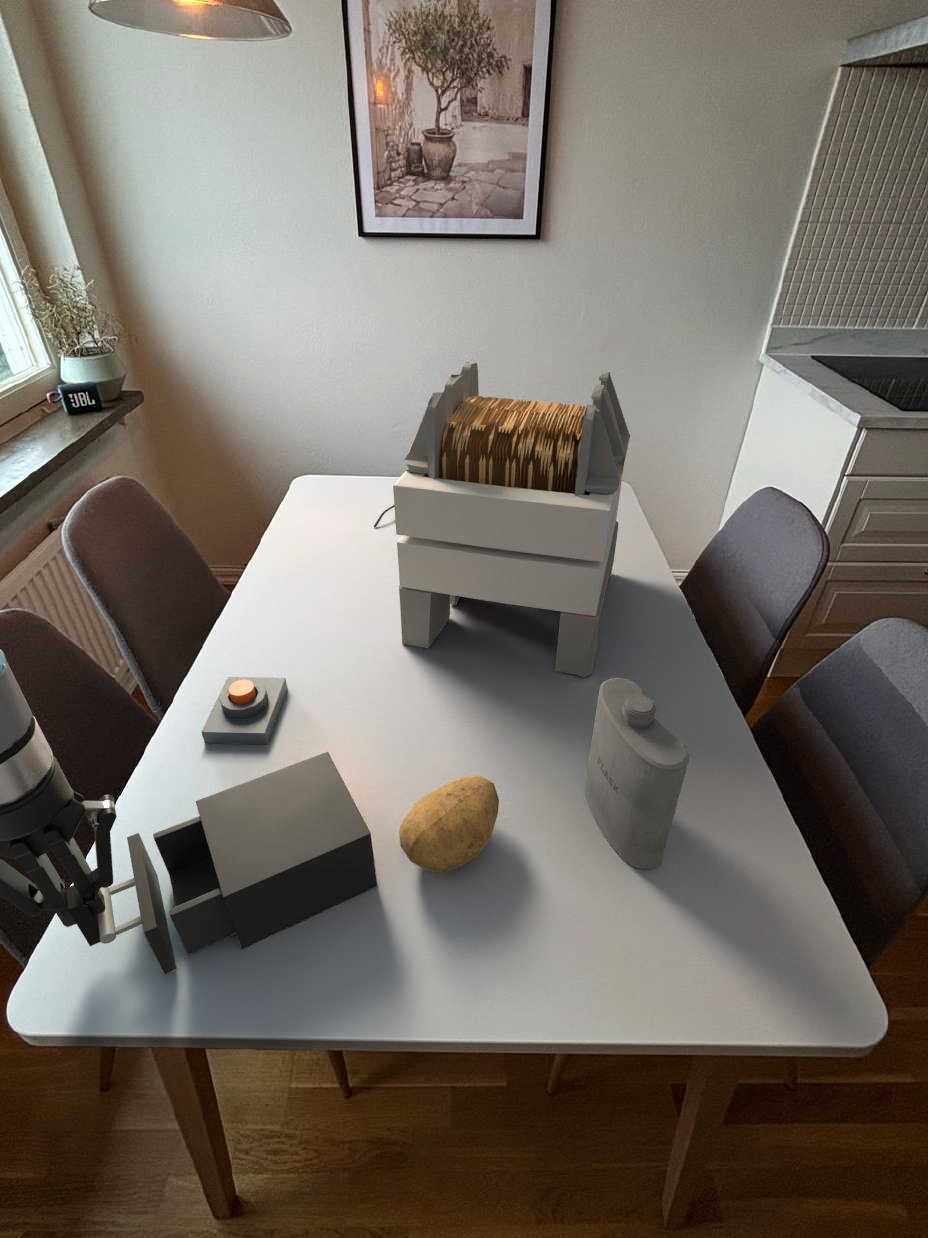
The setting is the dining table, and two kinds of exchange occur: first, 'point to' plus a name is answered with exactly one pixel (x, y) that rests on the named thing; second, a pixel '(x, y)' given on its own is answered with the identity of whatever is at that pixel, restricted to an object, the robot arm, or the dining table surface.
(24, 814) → the robot arm
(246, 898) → the dark grey drawer cabinet
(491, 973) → the dining table surface
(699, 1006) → the dining table surface
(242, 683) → the button
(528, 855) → the dining table surface
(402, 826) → the potato
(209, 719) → the control block
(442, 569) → the transformer
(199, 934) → the drawer
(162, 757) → the dining table surface
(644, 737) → the flask
